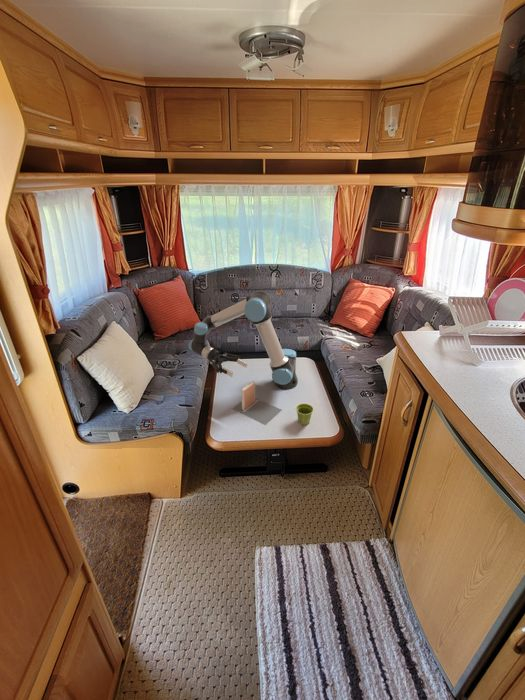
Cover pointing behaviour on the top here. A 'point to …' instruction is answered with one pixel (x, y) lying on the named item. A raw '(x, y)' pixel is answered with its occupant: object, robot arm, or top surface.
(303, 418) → the plant pot
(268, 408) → the board
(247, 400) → the tile
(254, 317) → the robot arm
